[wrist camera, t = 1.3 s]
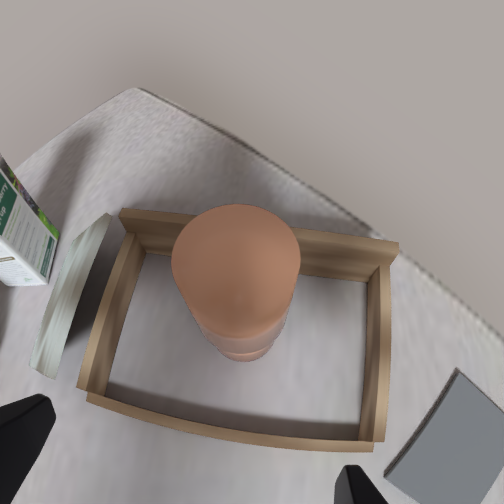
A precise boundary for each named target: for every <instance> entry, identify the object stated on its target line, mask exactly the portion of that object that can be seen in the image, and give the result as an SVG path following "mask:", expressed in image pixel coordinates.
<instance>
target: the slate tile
mask: <svg viewBox="0 0 504 504" xmlns="http://www.w3.org/2000/svg"><path fill="white" fill-rule="evenodd" d="M503 466H504V413H503V412H502V411H501V410H500V409H498V408H497V407H496V406H495V405H494V404H493V403H492V402H491V401H490V400H489V399H488V398H487V397H486V396H485V395H484V394H483V393H482V392H480V391H479V390H478V389H477V388H476V387H475V386H474V385H473V384H472V383H471V382H470V381H469V380H467V379H466V378H465V377H464V376H463V375H462V374H461V373H460V372H459V373H457V374H456V375H455V377H454V379H453V381H452V382H451V384H450V386H449V387H448V389H447V391H446V392H445V394H444V396H443V397H442V399H441V400H440V402H439V404H438V405H437V407H436V408H435V410H434V411H433V413H432V414H431V416H430V417H429V419H428V420H427V422H426V423H425V425H424V426H423V428H422V429H421V431H420V432H419V433H418V435H417V436H416V437H415V439H414V440H413V442H412V443H411V444H410V446H409V447H408V448H407V450H406V451H405V452H404V453H403V455H402V456H401V457H400V458H399V460H398V461H397V462H396V463H395V465H394V466H393V467H392V468H391V470H390V471H389V472H388V473H387V474H386V475H385V477H384V478H385V479H386V480H387V481H389V482H390V483H391V484H393V485H394V486H396V487H397V488H398V489H400V490H401V491H402V492H404V493H405V494H407V495H408V496H409V497H411V498H412V499H414V500H415V501H417V502H418V503H420V504H480V503H481V502H482V500H483V499H484V497H485V496H486V494H487V493H488V491H489V490H490V488H491V486H492V485H493V483H494V482H495V480H496V478H497V477H498V475H499V473H500V472H501V470H502V468H503Z"/></svg>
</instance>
